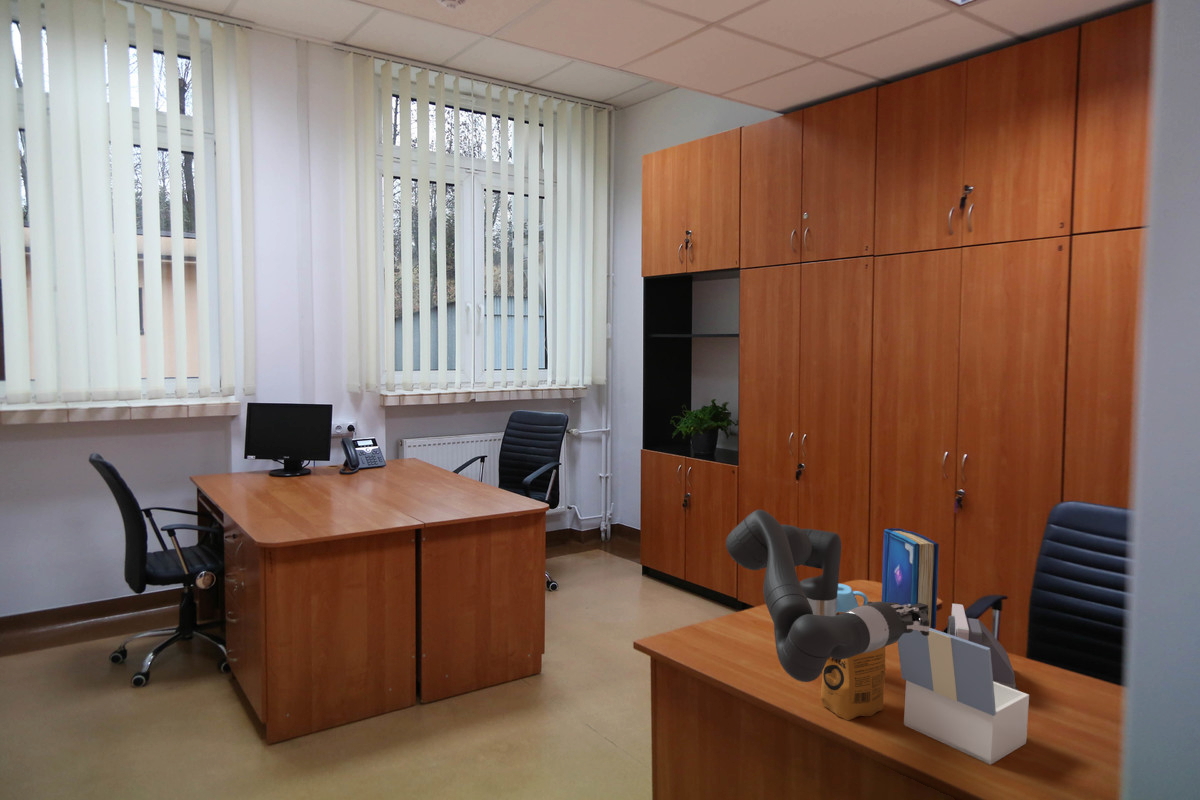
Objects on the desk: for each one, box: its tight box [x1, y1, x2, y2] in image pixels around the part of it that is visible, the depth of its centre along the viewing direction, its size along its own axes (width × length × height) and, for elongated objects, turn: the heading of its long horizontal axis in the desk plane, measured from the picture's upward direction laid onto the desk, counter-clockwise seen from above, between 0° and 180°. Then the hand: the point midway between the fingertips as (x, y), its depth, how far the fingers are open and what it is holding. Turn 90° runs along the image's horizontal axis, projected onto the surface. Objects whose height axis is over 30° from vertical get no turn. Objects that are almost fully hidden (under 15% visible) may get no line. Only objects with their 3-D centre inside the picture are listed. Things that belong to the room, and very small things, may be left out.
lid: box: [896, 628, 996, 716], centre depth 147 cm, size 14×19×1 cm
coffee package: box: [820, 612, 886, 721], centre depth 163 cm, size 10×12×22 cm
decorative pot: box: [837, 582, 869, 612], centre depth 210 cm, size 16×16×14 cm
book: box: [881, 527, 940, 630], centre depth 219 cm, size 22×7×25 cm, turn 5°
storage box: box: [903, 680, 1030, 766], centre depth 153 cm, size 14×18×10 cm
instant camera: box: [947, 603, 1019, 691], centre depth 180 cm, size 21×21×15 cm
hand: (924, 609), depth 141 cm, fingers closed
